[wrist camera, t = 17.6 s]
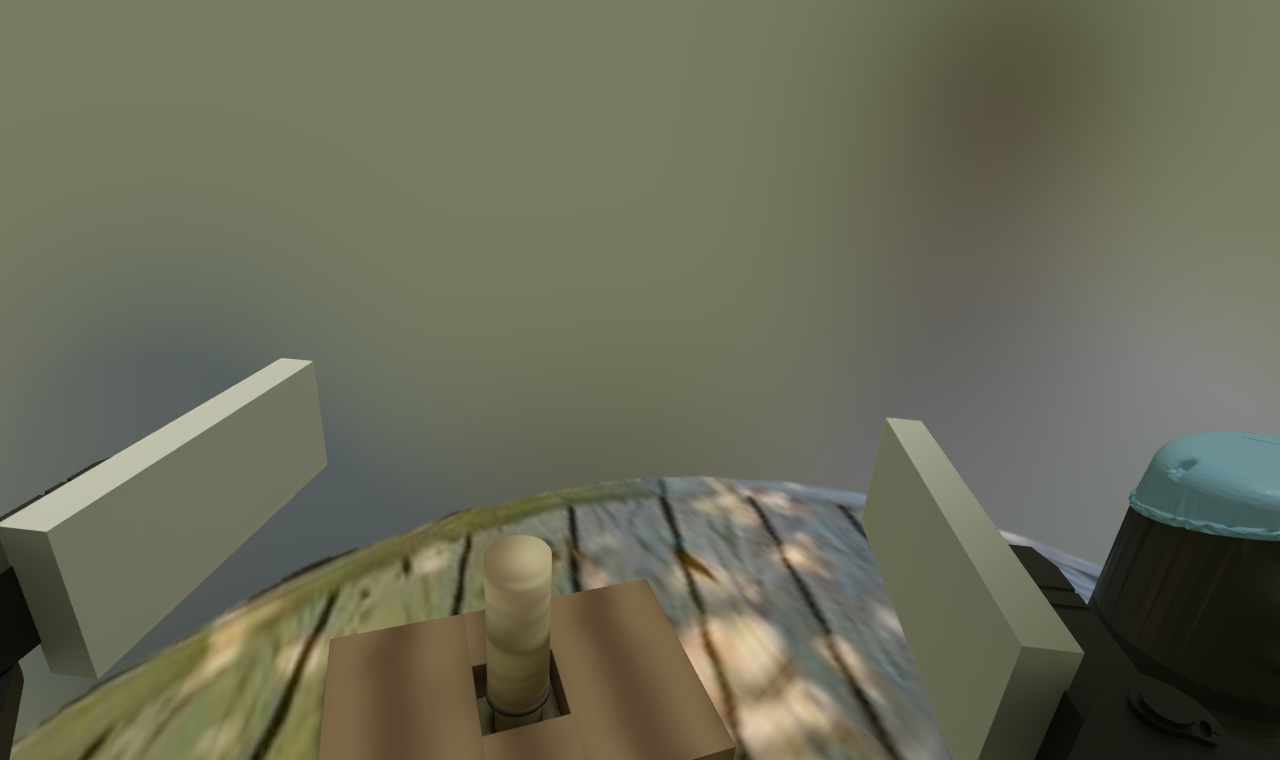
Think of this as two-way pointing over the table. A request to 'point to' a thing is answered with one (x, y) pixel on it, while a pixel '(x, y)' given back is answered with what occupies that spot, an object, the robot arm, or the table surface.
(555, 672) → the board
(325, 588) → the table surface
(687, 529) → the table surface
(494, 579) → the peg
